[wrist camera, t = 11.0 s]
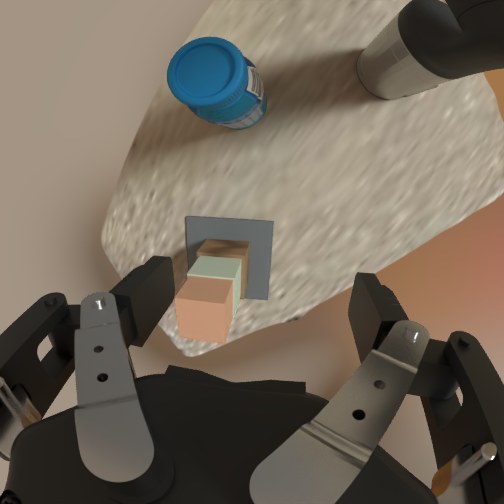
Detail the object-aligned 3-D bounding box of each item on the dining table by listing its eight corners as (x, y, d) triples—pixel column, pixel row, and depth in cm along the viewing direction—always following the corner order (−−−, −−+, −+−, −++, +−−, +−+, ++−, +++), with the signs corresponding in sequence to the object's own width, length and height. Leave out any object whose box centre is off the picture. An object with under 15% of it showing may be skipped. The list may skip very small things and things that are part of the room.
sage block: (241, 258, 39) (234, 278, 33) (240, 295, 41) (234, 318, 36) (200, 255, 39) (187, 273, 34) (201, 291, 42) (190, 313, 36)
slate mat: (273, 221, 43) (273, 221, 43) (267, 299, 48) (267, 300, 48) (187, 215, 44) (186, 216, 44) (190, 291, 49) (189, 292, 49)
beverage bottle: (244, 141, 39) (212, 136, 20) (201, 110, 38) (138, 87, 19) (279, 99, 36) (277, 57, 17) (234, 68, 35) (196, 13, 16)
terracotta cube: (233, 279, 33) (224, 303, 28) (232, 317, 35) (225, 343, 30) (189, 275, 34) (174, 297, 29) (192, 312, 36) (179, 337, 31)
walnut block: (249, 241, 44) (245, 255, 39) (248, 280, 47) (243, 299, 41) (207, 238, 45) (196, 252, 39) (207, 277, 47) (198, 294, 42)
